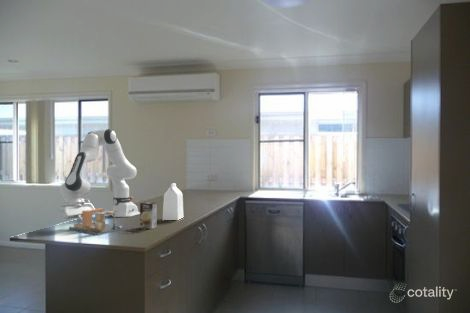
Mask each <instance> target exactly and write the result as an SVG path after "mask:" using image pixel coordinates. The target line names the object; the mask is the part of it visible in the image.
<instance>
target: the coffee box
mask: <svg viewBox="0 0 470 313" xmlns="http://www.w3.org/2000/svg"><path fill="white" fill-rule="evenodd" d="M139 204H140V205H139V212H140V214H139V228H141V229H149V230H150V229H155V228H157V223H158V222H157V217H158V216H157V213H158V212H157V211H158V209H157V208H158V207H157V206H158V203H157V202H151V201H143V202H140V203H139Z"/></svg>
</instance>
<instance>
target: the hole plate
mask: <svg viewBox="0 0 470 313" xmlns="http://www.w3.org/2000/svg"><path fill="white" fill-rule="evenodd" d="M92 227H95V220H94V221H93V222H92ZM68 230H71V231H76V232H80V233H84V234H89V235H95V236H101V235H104V234H109V233H115V232H119V231H123V230H126V227H125V226H122V225H115V228H113V224H109V223H105V229H104V232H97V231H92V230H87V229H82V228H77V227H74V226H70V227H68Z"/></svg>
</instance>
